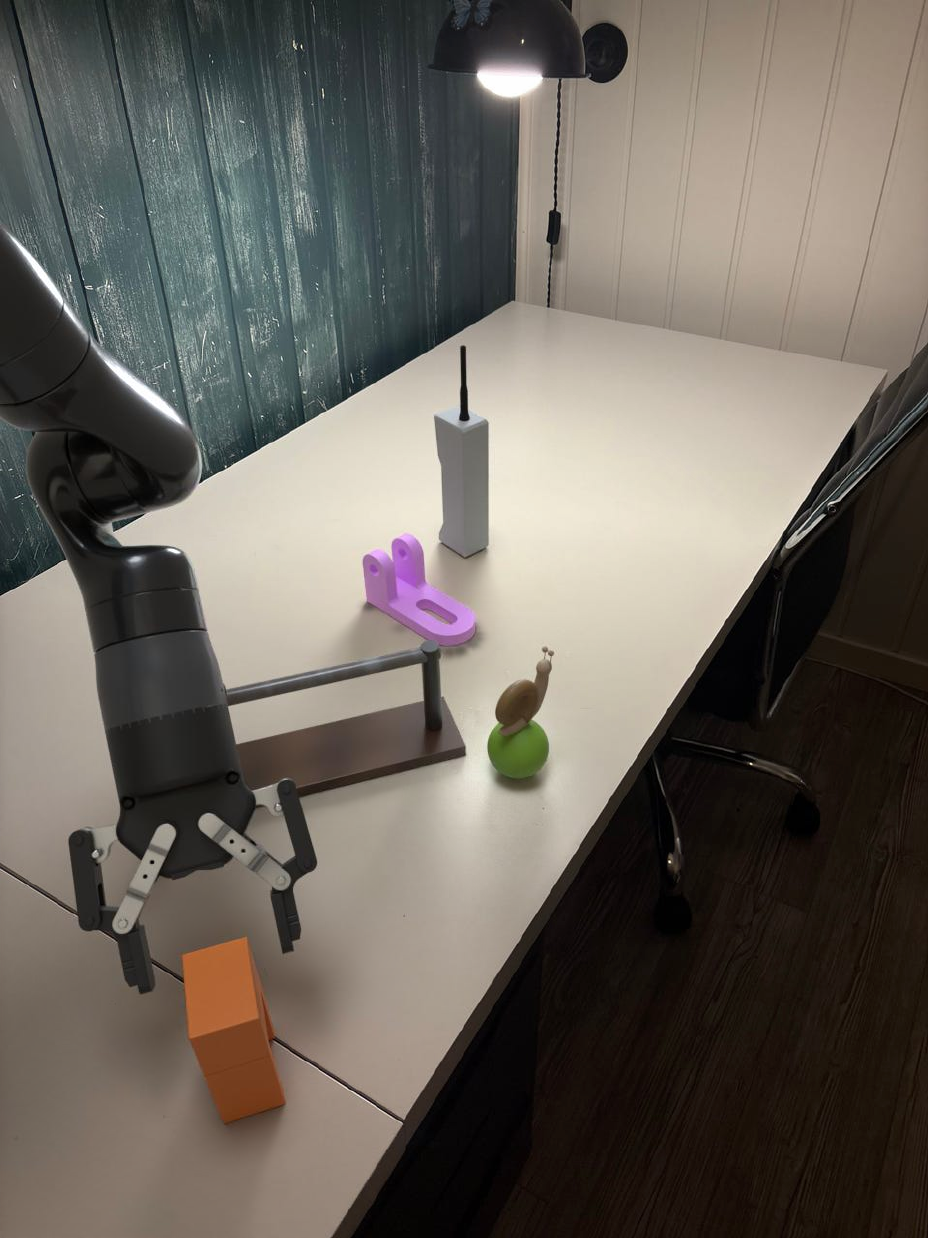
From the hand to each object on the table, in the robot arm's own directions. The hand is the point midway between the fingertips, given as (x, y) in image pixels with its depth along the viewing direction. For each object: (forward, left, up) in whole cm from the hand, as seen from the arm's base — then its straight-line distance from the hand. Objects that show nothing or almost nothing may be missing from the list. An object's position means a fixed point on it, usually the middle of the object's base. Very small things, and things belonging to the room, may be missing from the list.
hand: (219, 970), depth 56 cm
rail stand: (+15, +22, -10) cm, 29 cm away
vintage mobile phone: (+42, +47, -10) cm, 64 cm away
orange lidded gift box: (0, -2, -10) cm, 10 cm away
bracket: (+32, +37, -10) cm, 50 cm away
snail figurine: (+30, +13, -10) cm, 34 cm away
